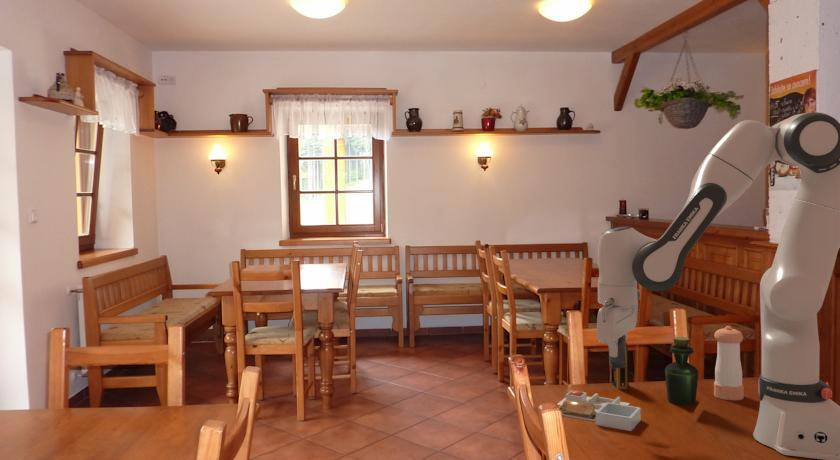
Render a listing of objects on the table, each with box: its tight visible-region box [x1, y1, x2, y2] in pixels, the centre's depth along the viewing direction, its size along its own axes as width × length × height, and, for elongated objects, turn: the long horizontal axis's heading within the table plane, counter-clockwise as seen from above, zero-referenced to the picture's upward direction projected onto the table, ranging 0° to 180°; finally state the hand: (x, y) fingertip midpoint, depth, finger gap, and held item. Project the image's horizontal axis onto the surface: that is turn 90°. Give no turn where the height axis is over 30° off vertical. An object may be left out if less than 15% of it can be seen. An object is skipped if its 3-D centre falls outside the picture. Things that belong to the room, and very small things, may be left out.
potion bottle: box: [664, 336, 699, 407], centre depth 164 cm, size 8×8×18 cm
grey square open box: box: [595, 402, 642, 432], centre depth 151 cm, size 8×8×4 cm
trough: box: [558, 405, 596, 423], centre depth 157 cm, size 11×6×2 cm, turn 56°
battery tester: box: [556, 390, 631, 411], centre depth 164 cm, size 16×10×4 cm, turn 56°
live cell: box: [561, 400, 596, 419], centre depth 157 cm, size 8×4×4 cm, turn 56°
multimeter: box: [607, 342, 630, 393], centre depth 179 cm, size 15×10×20 cm
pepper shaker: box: [713, 325, 745, 401], centre depth 172 cm, size 7×7×19 cm
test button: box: [570, 389, 583, 396], centre depth 167 cm, size 3×3×2 cm
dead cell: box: [608, 336, 627, 368], centre depth 150 cm, size 4×4×8 cm
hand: (617, 353), depth 150 cm, fingers closed on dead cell, 4 cm apart
